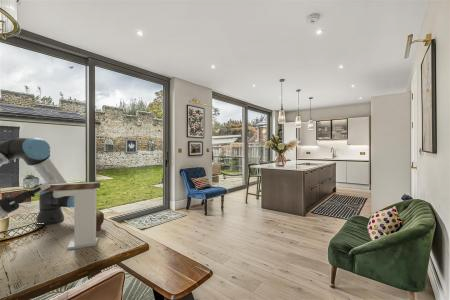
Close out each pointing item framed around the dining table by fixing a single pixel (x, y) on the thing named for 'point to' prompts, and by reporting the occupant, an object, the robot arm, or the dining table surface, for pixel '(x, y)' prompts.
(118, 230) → the dining table surface
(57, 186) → the lever
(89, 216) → the white upright panel
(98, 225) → the shell
